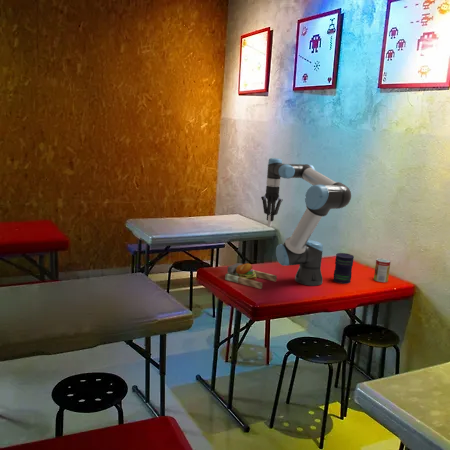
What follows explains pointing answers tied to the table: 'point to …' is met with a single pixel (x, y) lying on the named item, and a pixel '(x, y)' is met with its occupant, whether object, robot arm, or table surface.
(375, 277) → the canned food
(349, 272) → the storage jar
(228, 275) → the open wooden tray
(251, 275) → the cheeseburger
